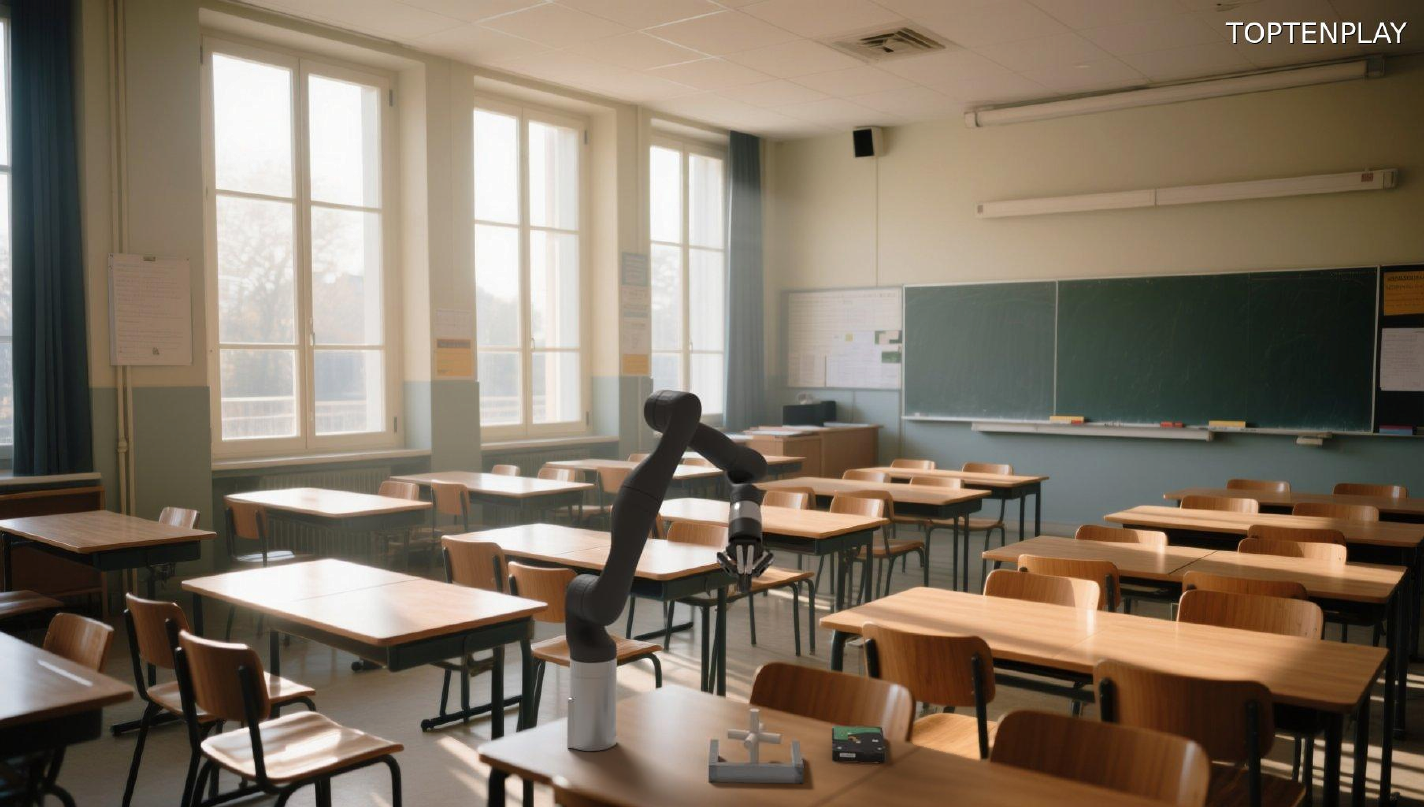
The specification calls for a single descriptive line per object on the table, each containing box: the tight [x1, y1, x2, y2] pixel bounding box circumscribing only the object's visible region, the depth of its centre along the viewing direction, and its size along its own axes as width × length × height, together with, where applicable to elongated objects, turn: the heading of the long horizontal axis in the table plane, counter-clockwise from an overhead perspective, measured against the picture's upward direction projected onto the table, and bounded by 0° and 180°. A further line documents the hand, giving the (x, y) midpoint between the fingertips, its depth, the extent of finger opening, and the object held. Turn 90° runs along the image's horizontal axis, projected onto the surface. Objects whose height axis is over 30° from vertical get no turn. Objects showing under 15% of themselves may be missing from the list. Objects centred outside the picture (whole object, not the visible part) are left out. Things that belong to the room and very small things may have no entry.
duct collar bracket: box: [707, 739, 805, 784], centre depth 188 cm, size 17×14×3 cm
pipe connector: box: [727, 708, 782, 763], centre depth 191 cm, size 10×10×10 cm
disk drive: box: [831, 725, 887, 764], centre depth 199 cm, size 10×3×15 cm
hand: (744, 591), depth 213 cm, fingers closed
